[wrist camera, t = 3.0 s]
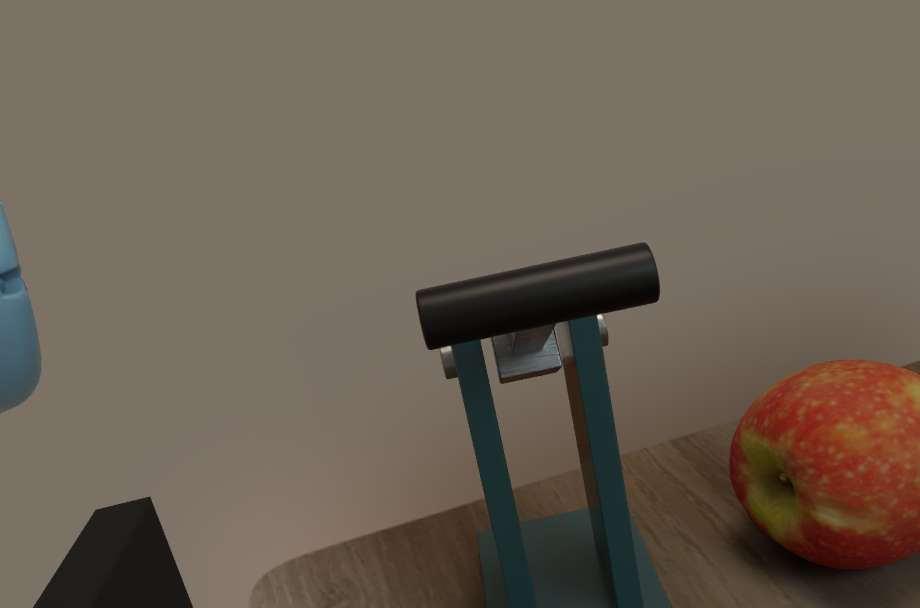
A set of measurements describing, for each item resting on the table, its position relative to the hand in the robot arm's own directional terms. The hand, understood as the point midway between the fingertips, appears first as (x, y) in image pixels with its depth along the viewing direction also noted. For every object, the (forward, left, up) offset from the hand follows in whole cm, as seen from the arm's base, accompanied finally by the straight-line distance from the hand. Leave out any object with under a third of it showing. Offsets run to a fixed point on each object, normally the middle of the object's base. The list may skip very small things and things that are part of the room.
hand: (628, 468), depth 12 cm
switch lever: (0, +13, -4) cm, 13 cm away
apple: (+12, +19, -18) cm, 28 cm away
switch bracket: (0, +18, -17) cm, 25 cm away
